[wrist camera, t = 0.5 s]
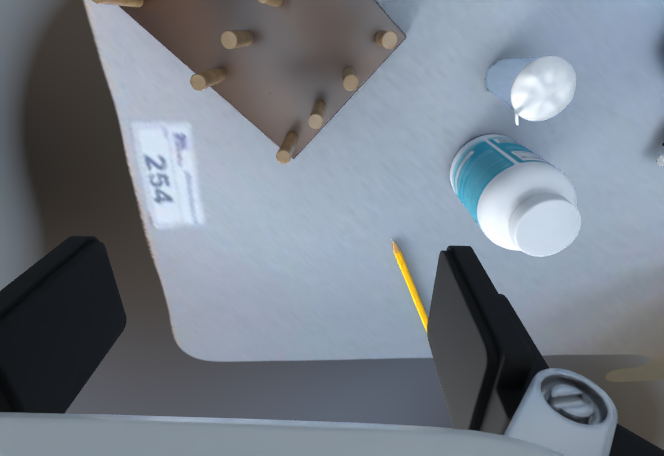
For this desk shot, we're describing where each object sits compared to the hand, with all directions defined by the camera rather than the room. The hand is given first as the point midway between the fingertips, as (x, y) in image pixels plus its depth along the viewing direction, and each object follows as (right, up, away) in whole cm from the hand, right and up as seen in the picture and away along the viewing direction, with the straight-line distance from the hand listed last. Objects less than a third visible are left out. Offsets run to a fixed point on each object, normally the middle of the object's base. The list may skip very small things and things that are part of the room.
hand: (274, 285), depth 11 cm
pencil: (+12, -7, +37) cm, 40 cm away
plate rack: (-4, +20, +23) cm, 31 cm away
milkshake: (+17, +15, +25) cm, 34 cm away
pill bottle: (+17, +8, +29) cm, 35 cm away
